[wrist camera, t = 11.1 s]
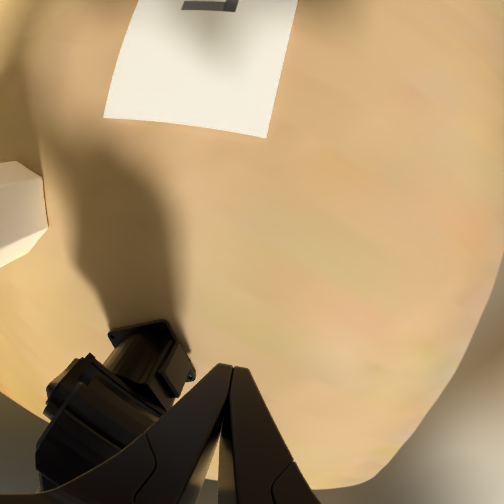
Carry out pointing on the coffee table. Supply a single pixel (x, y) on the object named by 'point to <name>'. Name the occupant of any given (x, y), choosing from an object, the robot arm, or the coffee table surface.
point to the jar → (20, 210)
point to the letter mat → (202, 63)
